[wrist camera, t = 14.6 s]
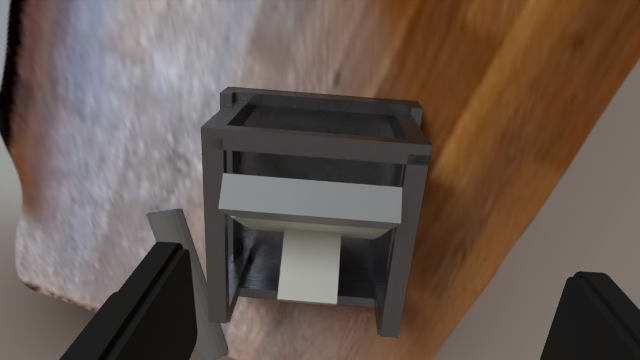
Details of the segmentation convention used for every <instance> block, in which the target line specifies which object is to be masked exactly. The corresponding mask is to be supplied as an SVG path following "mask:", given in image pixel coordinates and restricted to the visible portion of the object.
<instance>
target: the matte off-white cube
mask: <svg viewBox="0 0 640 360" xmlns="http://www.w3.org/2000/svg"><path fill="white" fill-rule="evenodd" d="M340 246H341V233H332V232H319V231H307V230H295V229H285V231H284V240H283V250H282V259H281V268H280V278H279V287H278V297H277V299H278V300H280V301H281V302H293V303H305V304H317V305H329V306H335V305H336V304H337V293H338V277H339V261H340Z"/></svg>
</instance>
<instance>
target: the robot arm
mask: <svg viewBox="0 0 640 360" xmlns="http://www.w3.org/2000/svg"><path fill="white" fill-rule="evenodd" d="M197 334H198V330H197V319H196V309H195V299H194V289H193V279H192V268H191V258H190V252H189V250H188V249H183V246H182V244H181V243H175V242H161V241H159V242H157V243H156V244H155V245H154V246H153V247H152V248H151V250H150V251H149V252H148V254H147V255H146V256H145V257H144V259H143V260H142V261H141V263H140V264H139V265H138V266H137V268H136V269H135V270H134V272H133V273H132V274H131V275H130V277H129V278H128V279H127V281H126V282H125V283H124V284H123V286H122V287H121V288H120V290H119V291H117V292H115V293H113V294H112V295H111V296H110V297H109V298H108V299H107V300H106V302H105V303H104V304H103V305H102V307H101V308H100V309H99V310H98V312H97V313H96V314H95V315H94V317H93V318H92V319H91V320H90V322H89V323H88V324H87V326H86V327H85V328H84V329H83V331H82V332H81V333H80V334H79V336H78V337H77V338H76V340H75V341H74V342H73V343H72V344H71V346H70V347H69V348H68V350H67V351H66V352H65V353H64V355H63V356H62V357H61V358H60V360H189V359H190V356H191V354H192V352H193V349H194V347H195V345H196V341H197ZM540 360H640V310H639V309H638V308H637V306H636V305H635V304H634V303H633V302H632V301H631V300H630V299H629V298H628V297H627V296H626V294H625V293H624V292H623V291H622V290H621V289H620V288H619V287H618V286H617V285H616V283H615V282H614V281H613V280H612V279H611V278H610V277H609V276H608V275H606V274H604V273H596V272H581V271H580V272H577V273H576V274H575V275H574V276H573V277H569V278H568V279H567V281H566V284H565V287H564V289H563V292H562V296H561V298H560V301H559V304H558V307H557V310H556V313H555V316H554V319H553V322H552V325H551V328H550V331H549V334H548V337H547V340H546V343H545V346H544V349H543V352H542V355H541V358H540Z"/></svg>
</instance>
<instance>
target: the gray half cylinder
mask: <svg viewBox="0 0 640 360" xmlns="http://www.w3.org/2000/svg"><path fill="white" fill-rule="evenodd" d="M146 215H147V217H148V220H149V223H150V226H151V228H152V231H153V234H154V237H155V239H156V242H159V241H161V242H175V243H181V244H182V246H183V249H188V250H189V252H190V258H191V268H192V279H193V289H194V299H195V309H196V319H197V330H198V334H197V341H196V345H195V349H196V352H197V354H198V356H199V357H200V358H201V359H203V360H214V359H217V358H220V357H221V356H223V355H224V354H225V353H226V352H227V350H228V346H227V343H226V340H225V337H224V334H223V331H222V328H221V325H220V323H214V322H209V321H208V295H207V282H206V279H205V276H204V273H203V270H202V267H201V264H200V261H199V258H198V255H197V252H196V249H195V246H194V243H193V240H192V237H191V234H190V231H189V228H188V225H187V222H186V219H185V216H184V213H183V210H182V209H174V210H167V211H160V212H153V213H148V214H146Z"/></svg>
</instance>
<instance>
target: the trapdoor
mask: <svg viewBox="0 0 640 360" xmlns="http://www.w3.org/2000/svg"><path fill="white" fill-rule="evenodd" d="M218 209H220V210H221V211H223V212H224V213H226V214H227V215H229V216H231V217H232V218H233V219H235V220H236V221H238V222H239V223H241V224H242V225H244V226H245V227H247V228H248V229H252V230H265V231H277V232H284V231H285V229H295V230H307V231H319V232H332V233H341V237H351V238H364V239H376V238H378V237H379V236H381V235H382V234H384V233H386V232H387V231H389V230H390V229H392V228H394V227H396V226H397V225H399V224H401V210H402V187H390V186H378V185H365V184H353V183H340V182H328V181H315V180H302V179H290V178H277V177H265V176H252V175H239V174H227V173H223V178H222V185H221V193H220V200H219V208H218Z"/></svg>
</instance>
